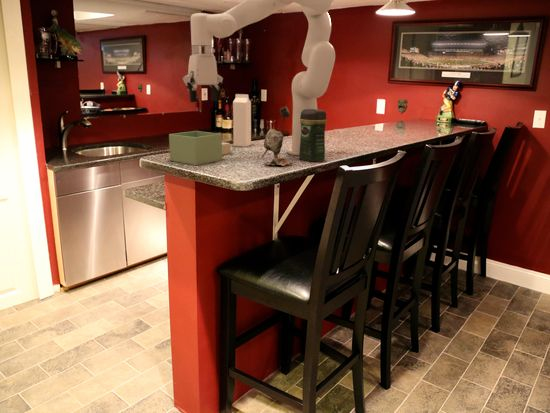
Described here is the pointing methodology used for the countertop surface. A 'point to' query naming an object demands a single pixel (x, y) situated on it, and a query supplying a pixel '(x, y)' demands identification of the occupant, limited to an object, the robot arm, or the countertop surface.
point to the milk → (242, 120)
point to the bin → (195, 147)
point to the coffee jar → (312, 135)
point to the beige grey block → (225, 148)
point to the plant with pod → (276, 141)
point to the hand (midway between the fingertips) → (204, 101)
